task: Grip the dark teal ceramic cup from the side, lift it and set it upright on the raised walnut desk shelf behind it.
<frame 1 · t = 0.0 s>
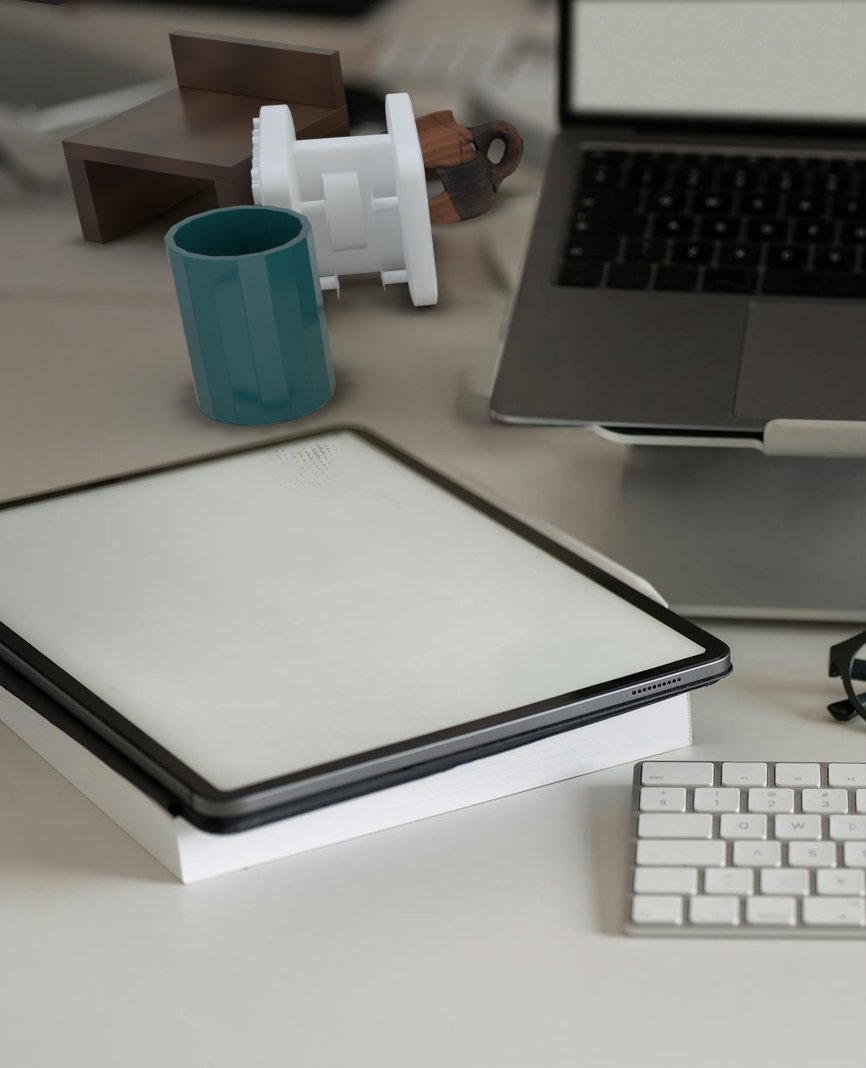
cable organizer: (357, 291, 117), on the table
teal cup: (268, 401, 103), on the table
desk shelf: (227, 226, 126), on the table
pottery mug: (450, 206, 130), on the table
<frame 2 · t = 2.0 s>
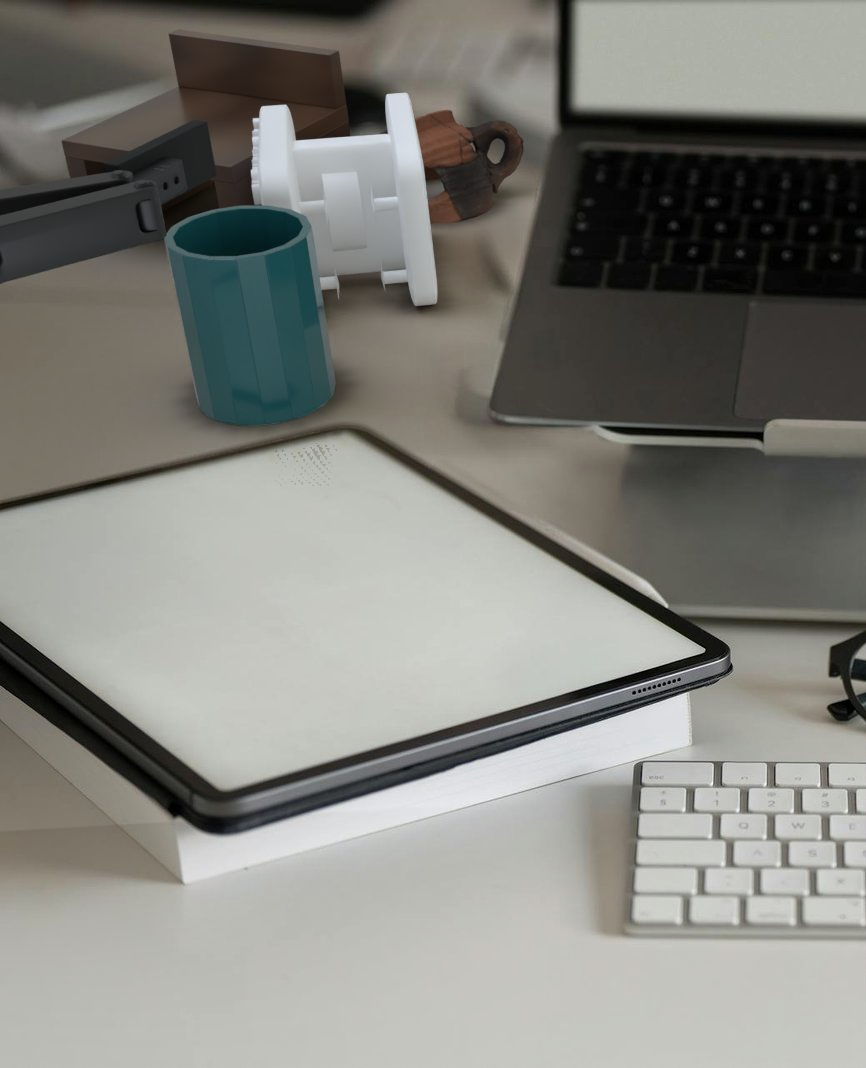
hand: (91, 130, 85), 20 cm above the table, tool horizontal, fingers open, 13 cm apart
nothing on the table moved.
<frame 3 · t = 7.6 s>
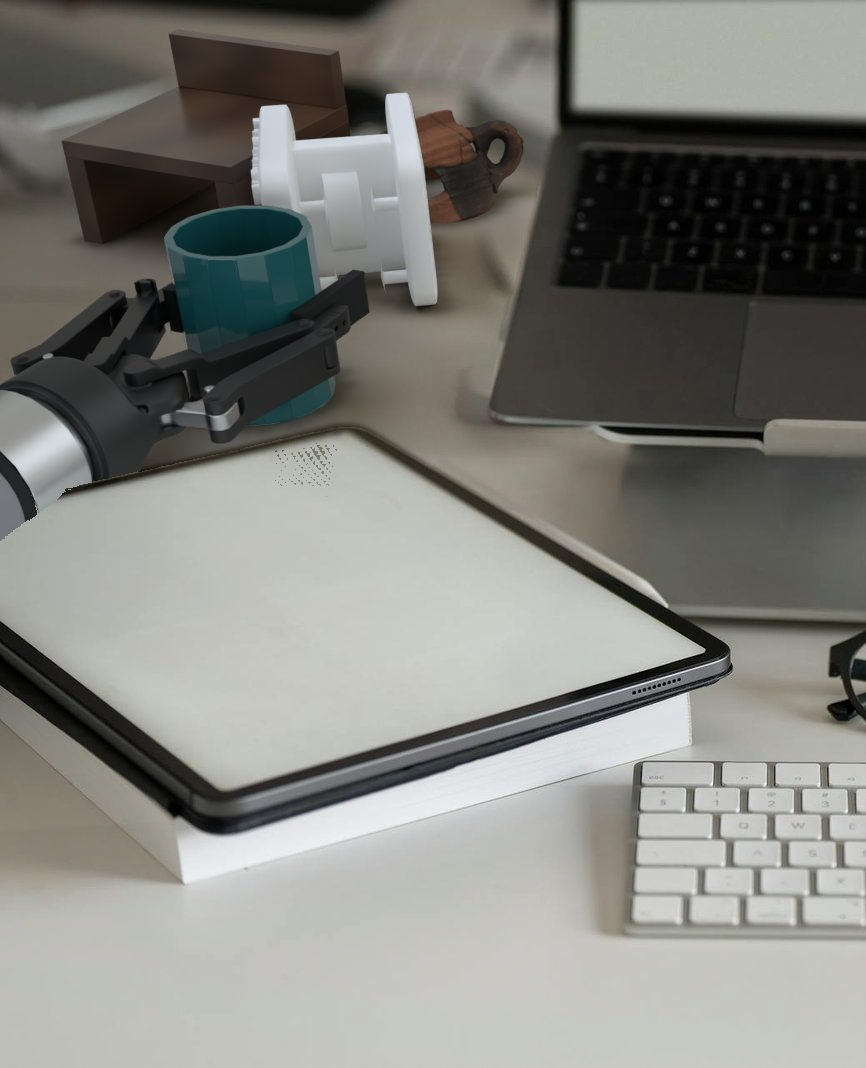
hand: (299, 280, 104), 6 cm above the table, tool horizontal, fingers closed on teal cup, 8 cm apart
teal cup: (268, 401, 103), on the table, touching gripper
everything else where it was.
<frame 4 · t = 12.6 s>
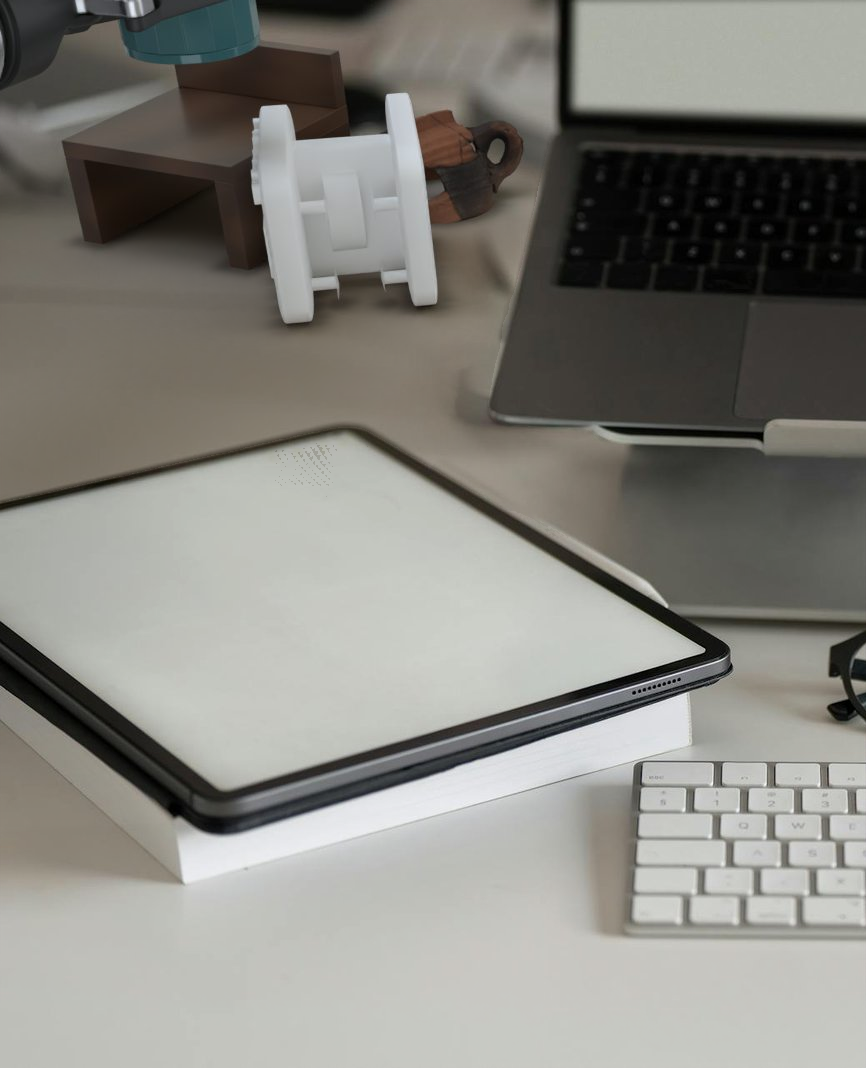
teal cup: (193, 44, 104), point 18 cm above the table, touching gripper
everything else where it was.
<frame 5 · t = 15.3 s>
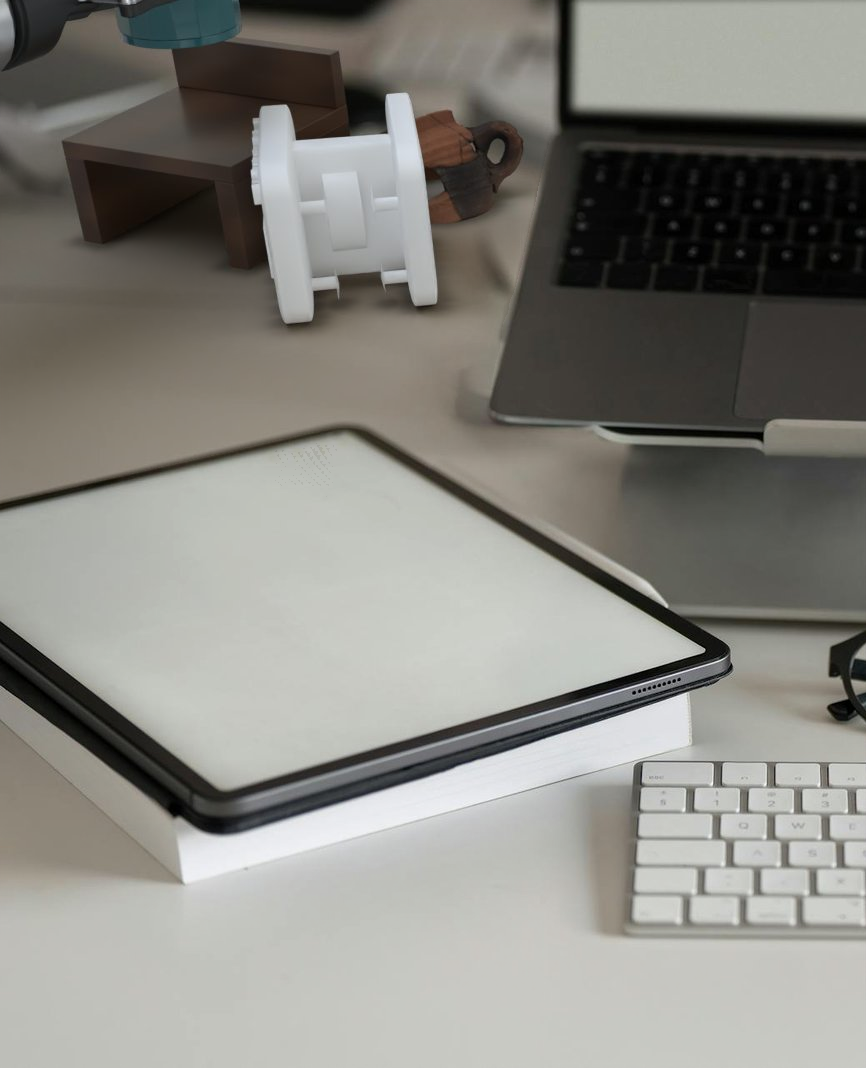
teal cup: (182, 32, 117), point 15 cm above the table, touching gripper
everything else where it was.
when the fingers open (14 cm above the table, at t = 17.6 s): teal cup stays where it is, resting on desk shelf.
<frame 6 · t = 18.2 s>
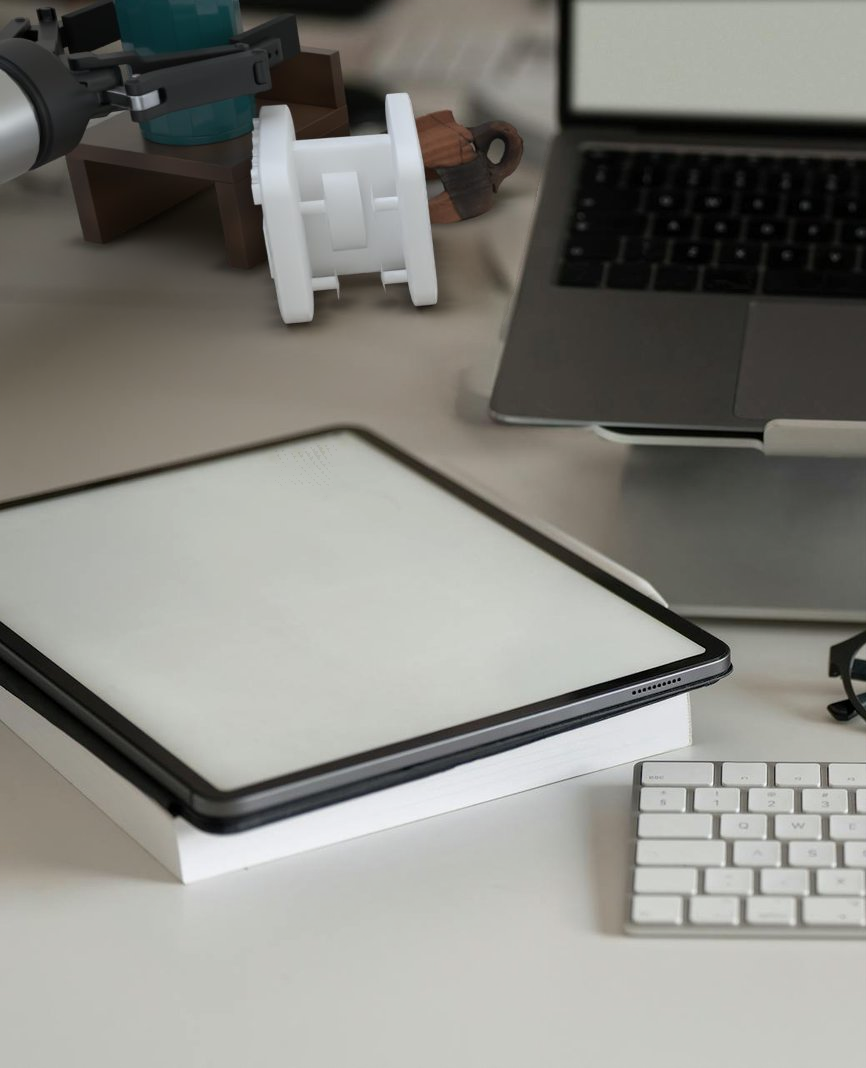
hand: (212, 22, 120), 14 cm above the table, tool horizontal, fingers open, 13 cm apart
teal cup: (199, 126, 121), point 8 cm above the table, touching desk shelf
everything else where it was.
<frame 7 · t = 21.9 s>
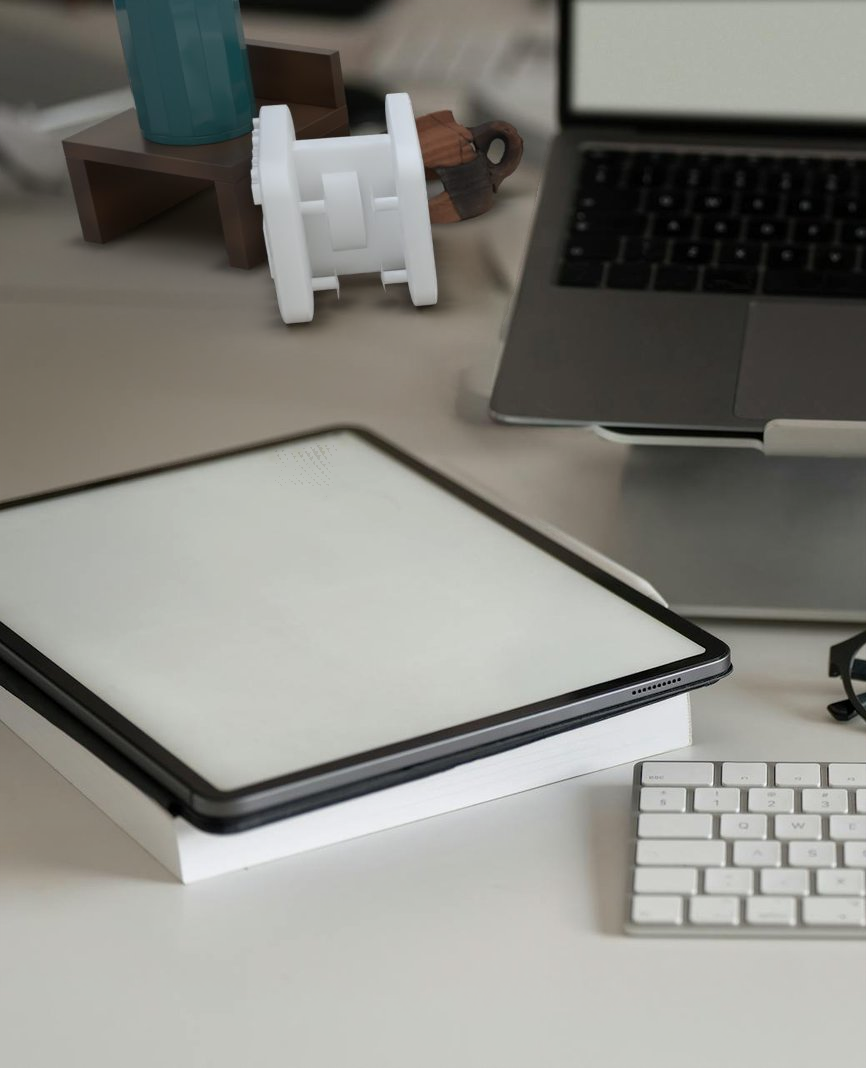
nothing on the table moved.
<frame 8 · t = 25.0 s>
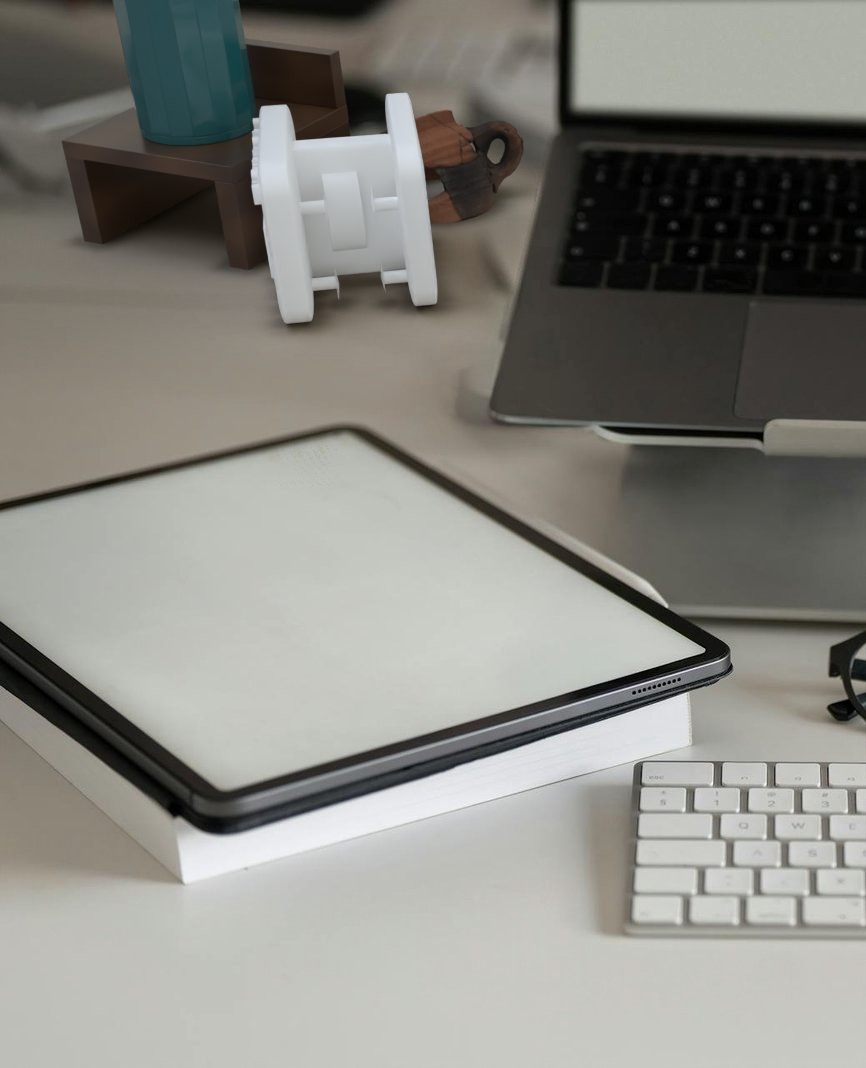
nothing on the table moved.
at the end: teal cup inside the target area on the desk shelf (0.9 cm from its centre), point 8.0 cm above the desk shelf's base; teal cup tilted 0°; the gripper is holding nothing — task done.
